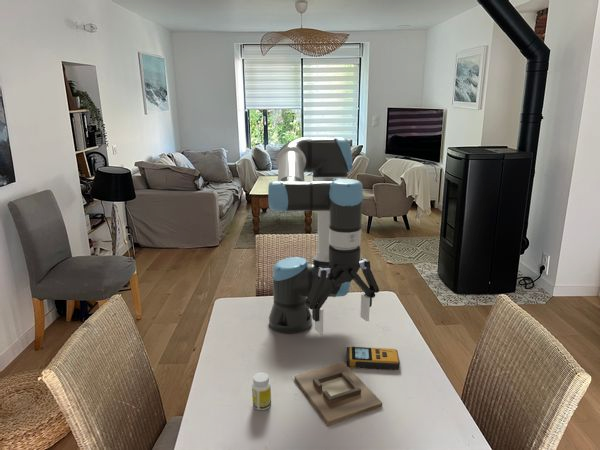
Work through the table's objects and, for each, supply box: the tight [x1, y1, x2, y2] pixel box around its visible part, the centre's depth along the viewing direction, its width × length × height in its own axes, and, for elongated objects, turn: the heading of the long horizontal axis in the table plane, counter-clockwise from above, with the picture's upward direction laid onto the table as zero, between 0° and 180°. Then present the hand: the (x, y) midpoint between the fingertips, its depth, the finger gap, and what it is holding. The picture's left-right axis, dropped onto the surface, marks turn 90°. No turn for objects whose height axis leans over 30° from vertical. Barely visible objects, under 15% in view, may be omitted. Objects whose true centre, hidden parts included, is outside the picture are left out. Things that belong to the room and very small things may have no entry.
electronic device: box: [345, 346, 401, 371], centre depth 133 cm, size 8×16×3 cm, turn 84°
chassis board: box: [293, 361, 383, 426], centre depth 119 cm, size 20×16×3 cm
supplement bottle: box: [251, 372, 272, 411], centre depth 114 cm, size 5×5×8 cm
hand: (342, 325), depth 110 cm, fingers open, 13 cm apart
